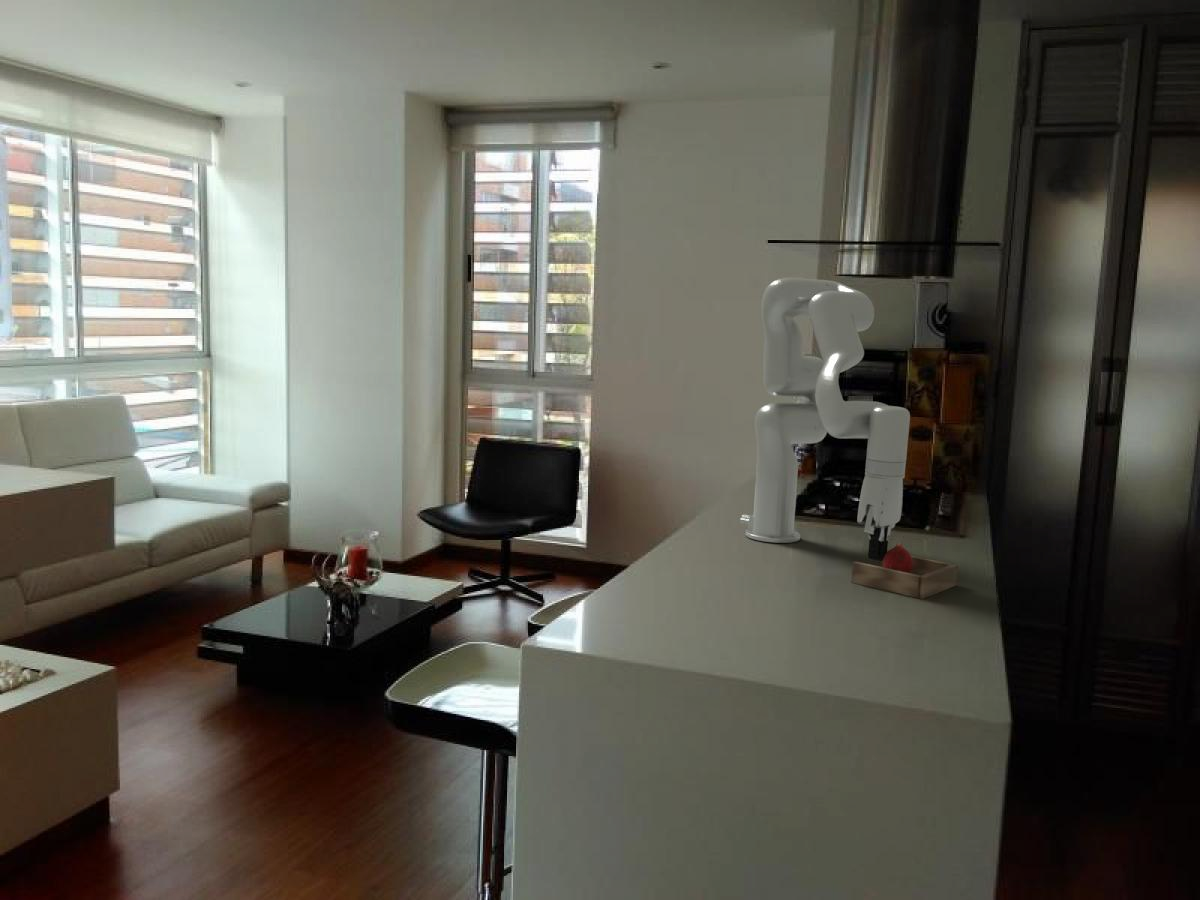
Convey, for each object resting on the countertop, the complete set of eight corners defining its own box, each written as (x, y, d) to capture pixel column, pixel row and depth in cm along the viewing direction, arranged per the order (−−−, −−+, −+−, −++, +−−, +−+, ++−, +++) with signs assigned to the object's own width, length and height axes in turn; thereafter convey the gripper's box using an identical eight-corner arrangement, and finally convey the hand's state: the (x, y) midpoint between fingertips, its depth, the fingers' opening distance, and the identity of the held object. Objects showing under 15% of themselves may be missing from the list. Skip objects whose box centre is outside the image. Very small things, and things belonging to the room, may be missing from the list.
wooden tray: (851, 582, 187) (852, 562, 187) (887, 569, 198) (888, 551, 198) (922, 599, 178) (924, 578, 177) (956, 585, 189) (958, 565, 188)
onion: (912, 587, 185) (915, 547, 184) (881, 584, 187) (884, 544, 186) (910, 580, 191) (914, 541, 190) (880, 577, 192) (884, 538, 191)
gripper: (885, 463, 197) (877, 550, 199) (849, 469, 186) (841, 561, 189) (920, 468, 192) (911, 557, 194) (885, 475, 181) (876, 569, 184)
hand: (877, 559), depth 192 cm, fingers closed
